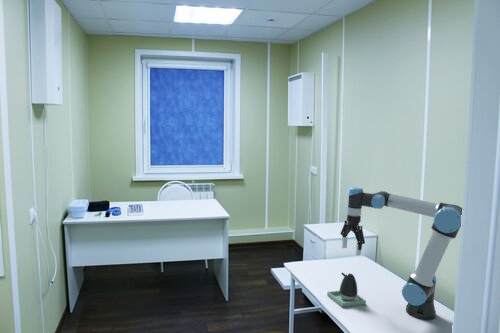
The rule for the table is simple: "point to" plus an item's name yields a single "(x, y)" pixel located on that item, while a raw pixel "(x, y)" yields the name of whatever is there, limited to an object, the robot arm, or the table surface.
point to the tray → (343, 303)
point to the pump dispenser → (348, 287)
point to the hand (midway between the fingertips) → (351, 251)
